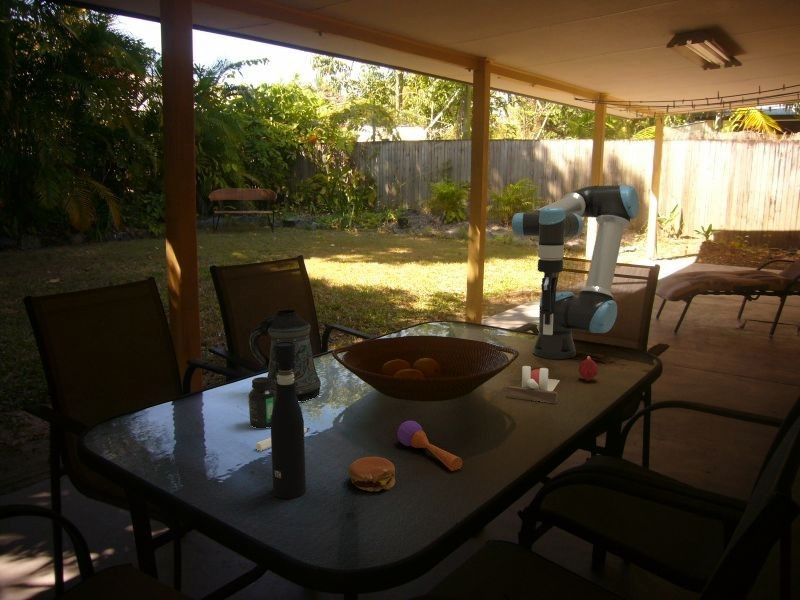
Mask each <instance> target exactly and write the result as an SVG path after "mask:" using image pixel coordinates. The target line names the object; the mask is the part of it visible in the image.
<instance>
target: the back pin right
mask: <svg viewBox="0 0 800 600" xmlns="http://www.w3.org/2000/svg"><path fill="white" fill-rule="evenodd" d="M521 368H522V370H521V373H522V374H521V387H522V388H530V387H529V386H528V385H527V381H528V380H529V379H531V371H532V367H531V366H530V365H523V366H522V367H521Z"/></svg>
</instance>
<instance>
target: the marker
mask: <svg viewBox="0 0 800 600" xmlns="http://www.w3.org/2000/svg"><path fill="white" fill-rule="evenodd" d="M310 429H311V428H310V427H304V435H305V434H306V433H307V432H308V431H309V430H310ZM254 447H255V450H256V449H258V450H260V451H261V452H263V451H262V450H264V451H266V450H268V448H269V449H271V437H269V438H266V439H263V440H261V441H258V442H256V444H255V446H254ZM265 449H266V450H265ZM258 450H257V451H258ZM260 451H259V452H260Z"/></svg>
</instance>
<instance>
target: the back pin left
mask: <svg viewBox="0 0 800 600" xmlns="http://www.w3.org/2000/svg"><path fill="white" fill-rule="evenodd" d="M539 370H540V375H539V390H545V391H547V388H548V379H549V368H547V367H541V368H539Z"/></svg>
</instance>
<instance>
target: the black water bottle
mask: <svg viewBox="0 0 800 600" xmlns="http://www.w3.org/2000/svg"><path fill="white" fill-rule="evenodd" d="M274 352H275V362H278V363H279V369H278V371H279V372H280V373H278V376H277V378H278V379H277V381H278V382H277V383H276V400H275V403H274V406H273V410H272V415H271V428H270V438H271V448H270V449H271V469H272V470H271V471H272V473H271V474H272V475H271V476H272V493H273V495H274V496H275V497H276V496H277V497H276V498H278V497H279V498H278V499H282V498H285V499H284V500H290V498H292V499H296V498H299V497H301V496H303V495H304V494H305V493H306V490H307V487H306V486H307V485H306V484H307V483H306V482H307V481H306V478H307V477H306V451H305V450H306V449H305V434H304V428H305V421H304V415H303V411H302V407H301V405H300V403H299V402H298V399H297V397H296V382H294V375H293V372H291V371H292V362H293V361H295V343H293V342H278V343H275V344H274ZM286 498H287V499H286Z"/></svg>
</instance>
